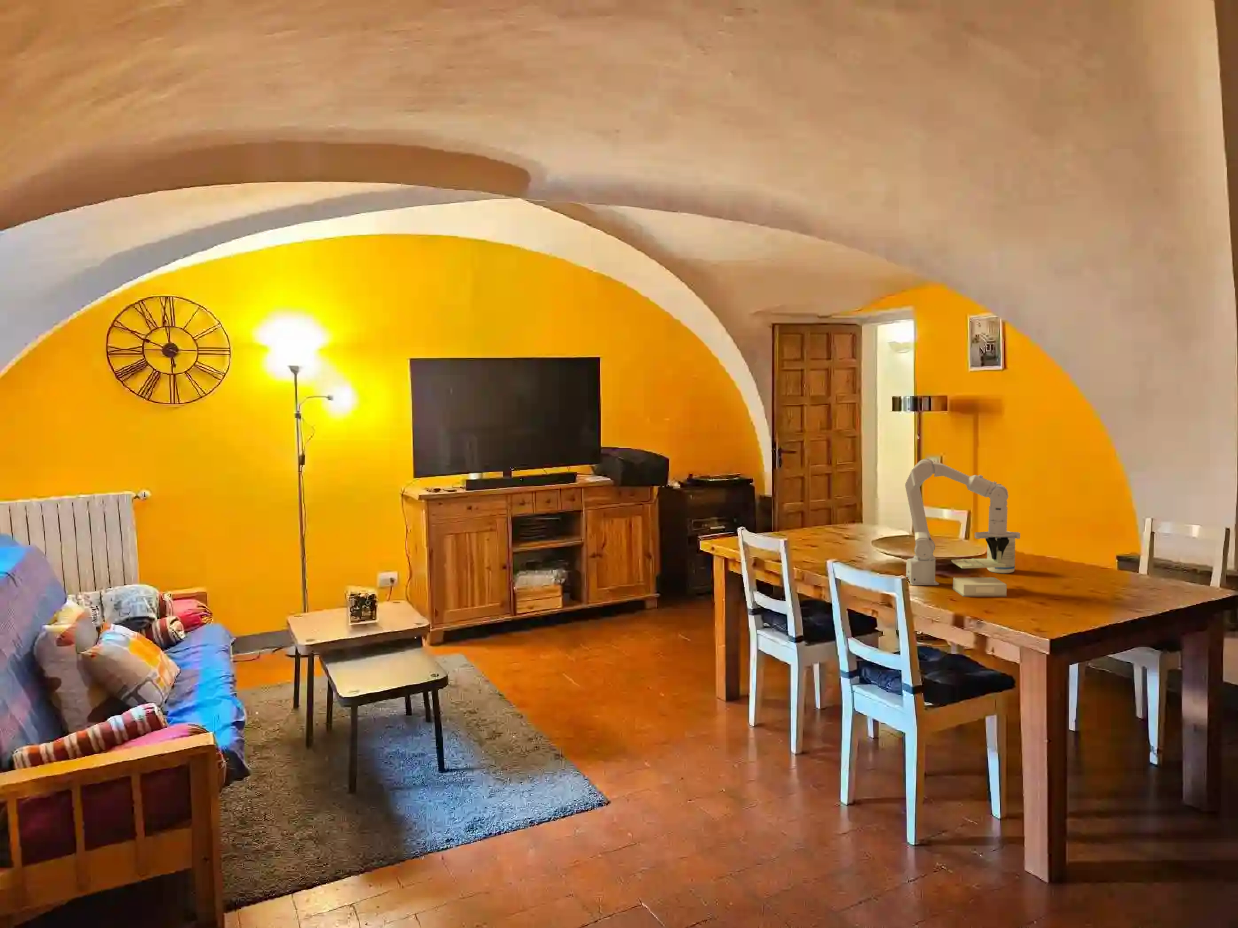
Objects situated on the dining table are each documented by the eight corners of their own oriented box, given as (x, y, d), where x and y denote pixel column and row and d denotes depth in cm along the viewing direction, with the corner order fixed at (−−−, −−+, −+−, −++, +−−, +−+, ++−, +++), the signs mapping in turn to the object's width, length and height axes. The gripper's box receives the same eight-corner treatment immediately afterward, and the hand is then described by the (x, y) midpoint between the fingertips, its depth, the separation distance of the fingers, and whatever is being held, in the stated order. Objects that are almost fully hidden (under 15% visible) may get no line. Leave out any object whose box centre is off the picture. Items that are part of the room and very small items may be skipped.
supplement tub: (1019, 571, 310) (1021, 532, 308) (1005, 575, 305) (1006, 535, 303) (995, 567, 318) (996, 529, 316) (981, 570, 313) (982, 532, 311)
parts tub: (963, 596, 276) (963, 584, 275) (952, 588, 286) (952, 577, 285) (1006, 596, 275) (1007, 584, 274) (994, 588, 285) (994, 577, 285)
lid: (962, 568, 280) (962, 554, 280) (951, 561, 290) (951, 548, 290) (1005, 566, 279) (1005, 553, 279) (993, 560, 289) (993, 547, 289)
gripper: (980, 522, 279) (979, 561, 281) (1024, 521, 279) (1023, 561, 280) (972, 518, 286) (971, 557, 288) (1015, 518, 286) (1014, 557, 287)
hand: (996, 559), depth 284 cm, fingers closed on lid
